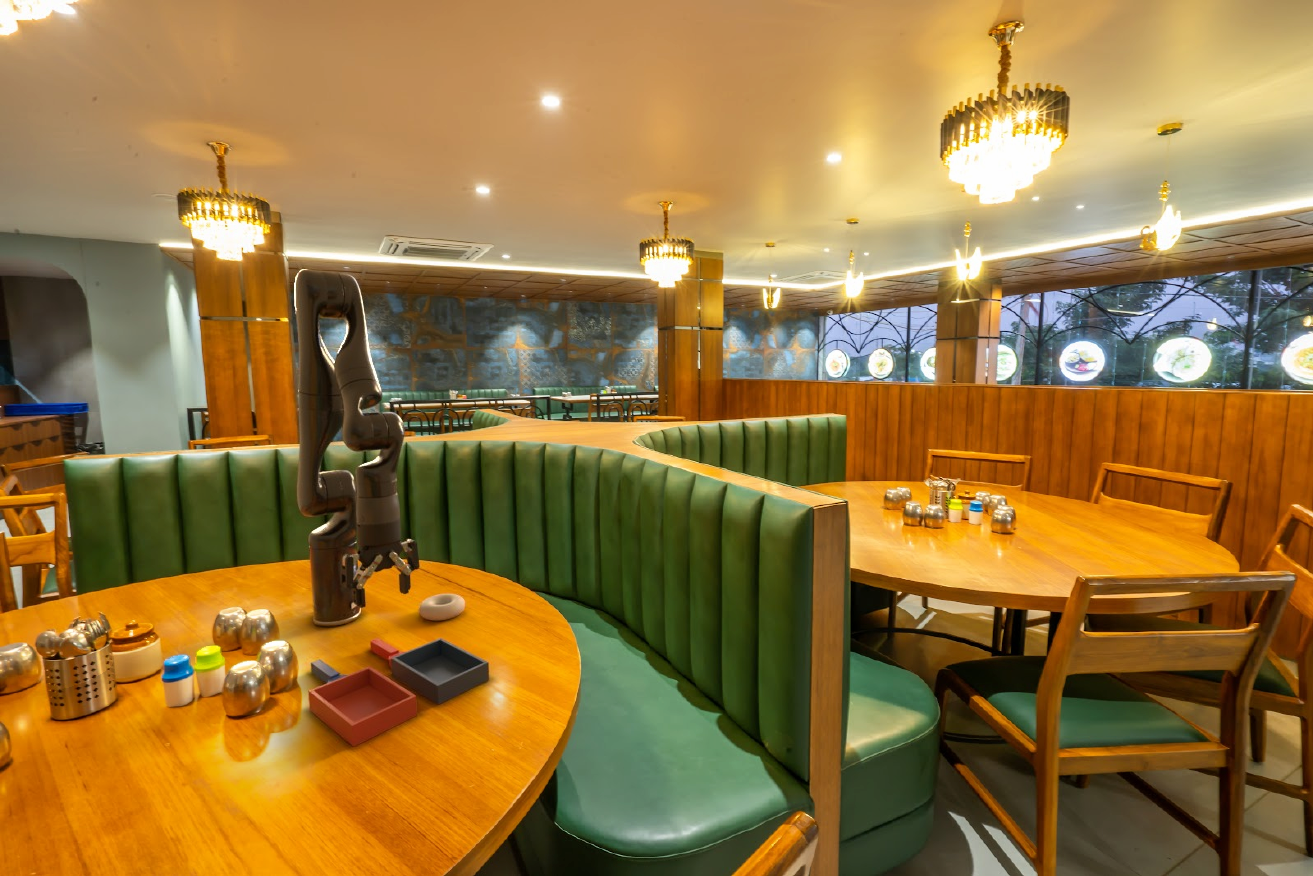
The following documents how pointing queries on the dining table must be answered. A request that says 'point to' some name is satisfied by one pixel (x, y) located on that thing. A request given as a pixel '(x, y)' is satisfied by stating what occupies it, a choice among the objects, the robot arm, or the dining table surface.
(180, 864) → the dining table surface
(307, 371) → the robot arm
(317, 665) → the blue spoon
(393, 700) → the red tray
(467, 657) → the blue tray
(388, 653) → the red spoon
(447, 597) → the donut
